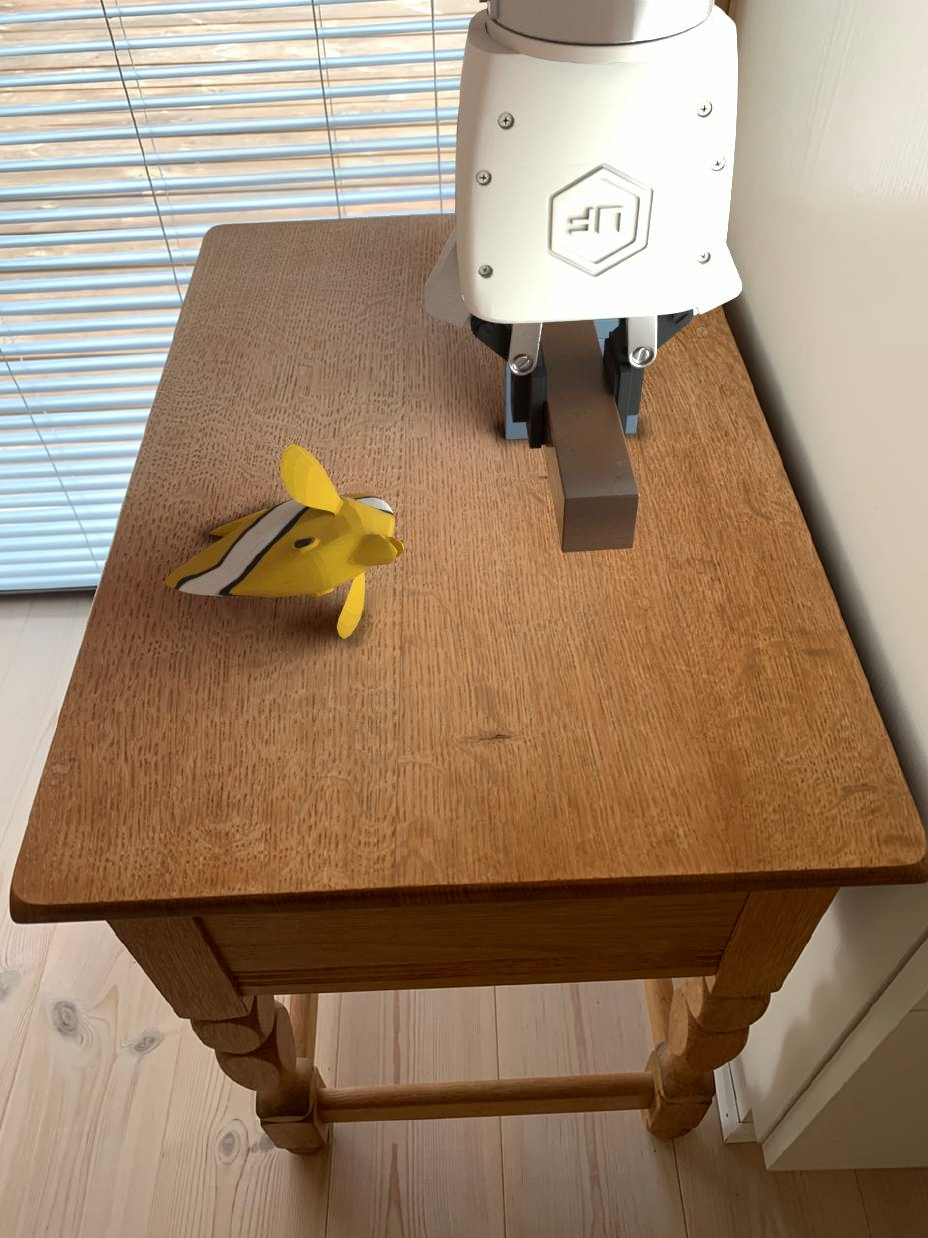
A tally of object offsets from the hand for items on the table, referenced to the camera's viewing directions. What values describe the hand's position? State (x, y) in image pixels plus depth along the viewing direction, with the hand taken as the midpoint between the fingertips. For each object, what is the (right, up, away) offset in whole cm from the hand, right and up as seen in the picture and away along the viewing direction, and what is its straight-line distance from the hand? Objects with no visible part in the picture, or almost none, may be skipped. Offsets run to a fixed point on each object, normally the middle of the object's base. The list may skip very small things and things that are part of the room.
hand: (572, 424), depth 46 cm
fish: (-16, -7, +20) cm, 27 cm away
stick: (0, 0, 0) cm, 0 cm away
